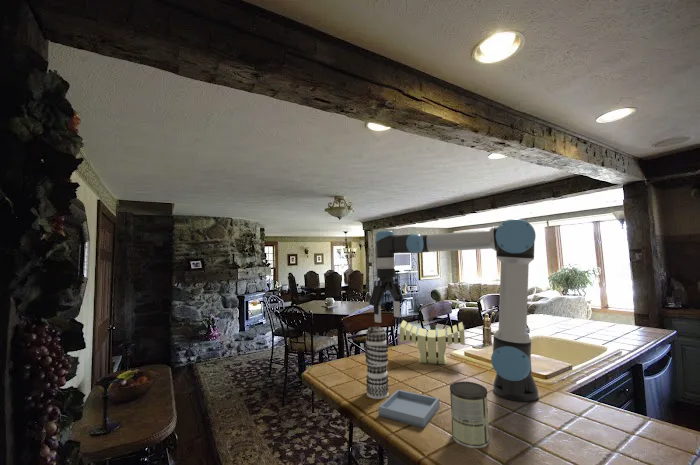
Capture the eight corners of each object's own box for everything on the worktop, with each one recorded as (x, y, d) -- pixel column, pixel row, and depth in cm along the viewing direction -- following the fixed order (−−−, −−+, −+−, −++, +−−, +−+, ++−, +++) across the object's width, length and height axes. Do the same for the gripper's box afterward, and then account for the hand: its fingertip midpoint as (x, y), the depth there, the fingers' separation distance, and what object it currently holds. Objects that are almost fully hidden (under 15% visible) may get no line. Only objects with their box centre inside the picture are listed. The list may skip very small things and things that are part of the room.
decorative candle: (364, 398, 121) (362, 330, 122) (366, 388, 130) (365, 325, 132) (389, 399, 119) (387, 330, 121) (389, 389, 129) (387, 325, 130)
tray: (439, 407, 113) (439, 398, 113) (424, 428, 100) (423, 418, 100) (398, 397, 121) (397, 389, 121) (378, 416, 108) (378, 406, 108)
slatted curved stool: (400, 363, 158) (399, 326, 159) (404, 353, 174) (403, 319, 175) (465, 368, 150) (464, 328, 152) (463, 357, 166) (461, 321, 167)
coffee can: (446, 429, 99) (444, 381, 100) (480, 428, 99) (478, 380, 100) (459, 449, 88) (457, 396, 89) (496, 448, 89) (493, 395, 90)
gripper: (395, 266, 148) (397, 313, 146) (359, 269, 129) (361, 323, 128) (409, 266, 143) (411, 315, 141) (374, 269, 124) (376, 326, 123)
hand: (387, 319), depth 135 cm, fingers open, 13 cm apart
